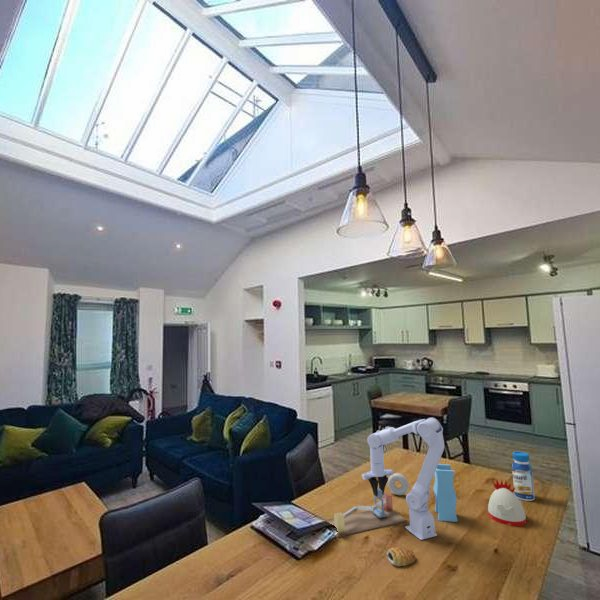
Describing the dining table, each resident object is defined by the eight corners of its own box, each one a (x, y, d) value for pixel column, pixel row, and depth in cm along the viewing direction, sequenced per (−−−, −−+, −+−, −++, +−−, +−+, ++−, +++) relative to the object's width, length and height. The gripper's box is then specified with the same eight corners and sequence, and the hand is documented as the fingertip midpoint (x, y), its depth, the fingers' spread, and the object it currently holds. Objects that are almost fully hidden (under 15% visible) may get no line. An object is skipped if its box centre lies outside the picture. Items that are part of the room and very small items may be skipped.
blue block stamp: (379, 509, 151) (378, 486, 152) (387, 516, 145) (386, 492, 146) (371, 511, 150) (370, 488, 151) (379, 518, 144) (378, 493, 145)
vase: (458, 522, 142) (454, 471, 145) (438, 520, 144) (435, 470, 146) (453, 512, 150) (450, 464, 152) (434, 511, 152) (431, 463, 154)
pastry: (409, 552, 123) (408, 541, 123) (420, 564, 116) (419, 552, 117) (385, 557, 121) (384, 545, 121) (394, 569, 114) (394, 557, 114)
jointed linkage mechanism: (396, 511, 151) (396, 496, 151) (339, 535, 133) (338, 517, 134) (387, 507, 155) (386, 492, 156) (330, 529, 138) (329, 512, 138)
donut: (409, 495, 168) (408, 473, 169) (408, 498, 165) (407, 476, 166) (388, 492, 172) (387, 471, 173) (387, 494, 168) (386, 473, 170)
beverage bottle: (539, 499, 161) (535, 454, 163) (527, 502, 158) (523, 457, 160) (522, 492, 169) (518, 449, 171) (510, 495, 166) (506, 452, 168)
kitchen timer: (489, 506, 155) (486, 471, 157) (525, 514, 148) (522, 477, 150) (487, 520, 143) (484, 482, 145) (527, 529, 136) (523, 489, 138)
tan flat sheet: (406, 521, 143) (406, 520, 144) (336, 538, 132) (336, 536, 132) (388, 507, 156) (388, 506, 156) (322, 521, 144) (322, 520, 144)
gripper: (386, 456, 156) (387, 488, 155) (357, 460, 151) (359, 493, 150) (395, 461, 150) (397, 494, 148) (366, 466, 145) (367, 500, 143)
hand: (378, 494), depth 148 cm, fingers closed on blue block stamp, 2 cm apart
